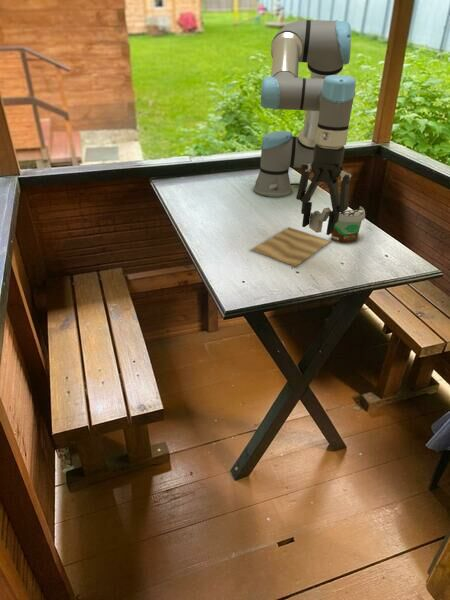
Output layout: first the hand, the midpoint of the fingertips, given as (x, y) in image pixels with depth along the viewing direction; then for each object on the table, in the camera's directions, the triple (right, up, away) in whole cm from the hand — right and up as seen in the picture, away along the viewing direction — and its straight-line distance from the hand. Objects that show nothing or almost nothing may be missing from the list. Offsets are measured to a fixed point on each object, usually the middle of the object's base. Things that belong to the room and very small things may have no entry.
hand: (317, 229), depth 123 cm
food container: (+15, 0, +25) cm, 29 cm away
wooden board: (-4, -2, +20) cm, 21 cm away
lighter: (0, -1, +1) cm, 1 cm away
